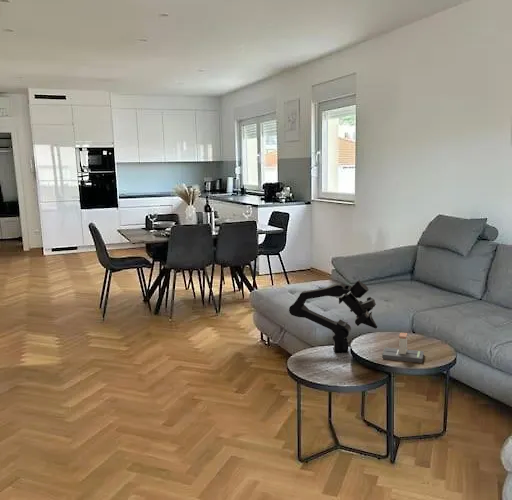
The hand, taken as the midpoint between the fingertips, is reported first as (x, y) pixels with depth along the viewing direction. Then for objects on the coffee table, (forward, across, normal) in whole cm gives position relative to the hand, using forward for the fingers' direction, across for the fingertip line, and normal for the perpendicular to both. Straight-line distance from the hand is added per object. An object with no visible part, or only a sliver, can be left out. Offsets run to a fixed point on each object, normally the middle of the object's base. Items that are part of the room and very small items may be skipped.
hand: (376, 327), depth 238 cm
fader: (+16, 0, -1) cm, 17 cm away
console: (+18, 0, +1) cm, 18 cm away
